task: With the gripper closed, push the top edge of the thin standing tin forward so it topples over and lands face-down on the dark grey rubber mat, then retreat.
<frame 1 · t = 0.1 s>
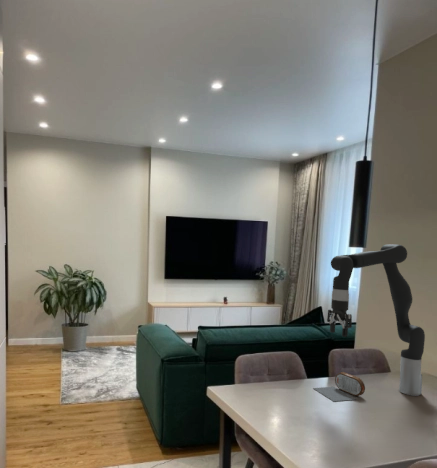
hand: (338, 334, 172), 29 cm above the table, fingers open, 8 cm apart
mat: (333, 394, 177), on the table
tin: (348, 393, 180), on the table, touching mat
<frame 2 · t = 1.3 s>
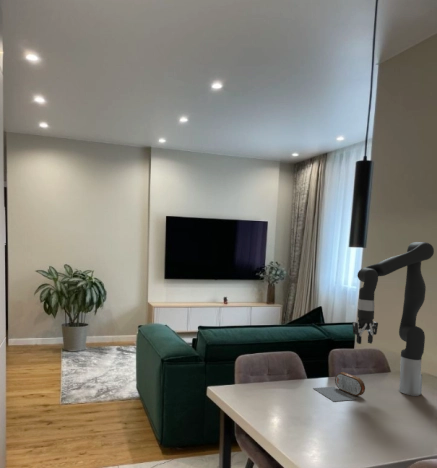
hand: (364, 343, 183), 24 cm above the table, fingers open, 6 cm apart
nothing on the table moved.
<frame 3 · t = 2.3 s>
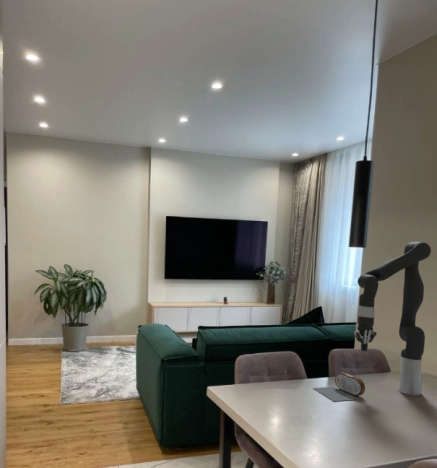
hand: (363, 350, 183), 20 cm above the table, fingers closed
nothing on the table moved.
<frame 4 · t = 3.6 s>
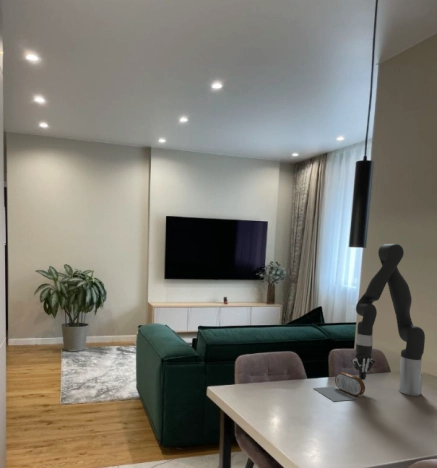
hand: (362, 379, 183), 6 cm above the table, fingers closed
nothing on the table moved.
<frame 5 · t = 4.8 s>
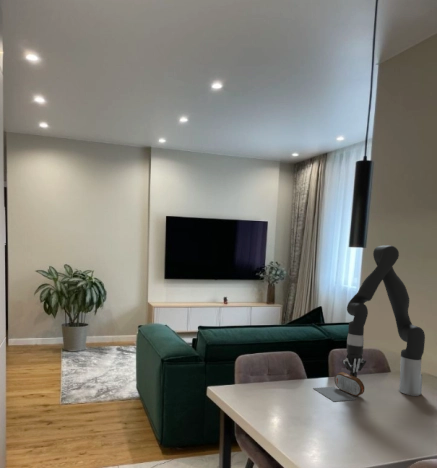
hand: (353, 379, 181), 6 cm above the table, fingers closed
tin: (348, 392, 180), on the table, touching gripper, mat
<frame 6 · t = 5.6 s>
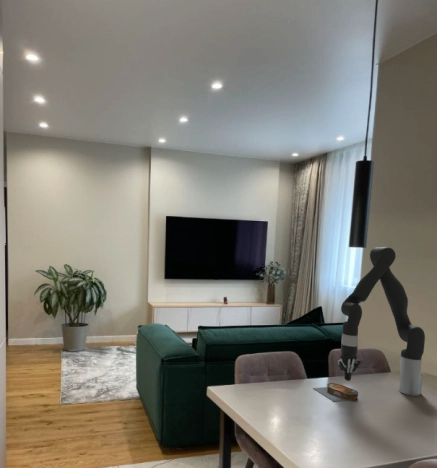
hand: (347, 380, 180), 6 cm above the table, fingers closed
tin: (347, 390, 179), point 1 cm above the table, touching mat
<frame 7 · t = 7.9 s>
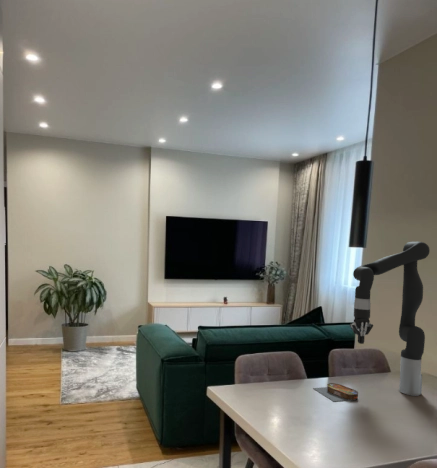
hand: (360, 343, 183), 23 cm above the table, fingers closed
nothing on the table moved.
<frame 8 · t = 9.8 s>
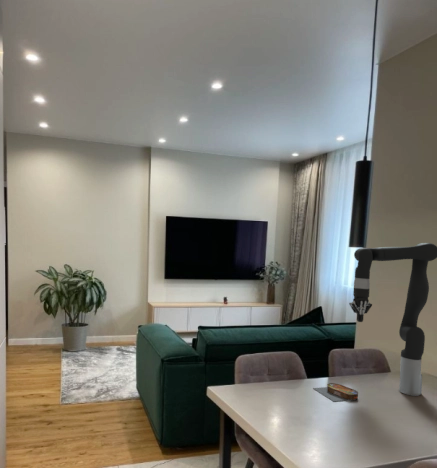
hand: (359, 321, 189), 33 cm above the table, fingers closed
nothing on the table moved.
at the end: tin tilted 86°; tin inside the target area on the mat (7.7 cm from its centre), point 1.3 cm above the mat's base; the gripper is holding nothing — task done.
